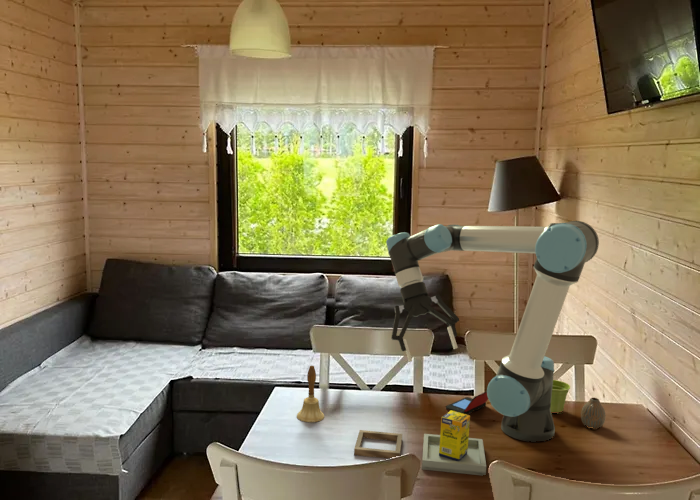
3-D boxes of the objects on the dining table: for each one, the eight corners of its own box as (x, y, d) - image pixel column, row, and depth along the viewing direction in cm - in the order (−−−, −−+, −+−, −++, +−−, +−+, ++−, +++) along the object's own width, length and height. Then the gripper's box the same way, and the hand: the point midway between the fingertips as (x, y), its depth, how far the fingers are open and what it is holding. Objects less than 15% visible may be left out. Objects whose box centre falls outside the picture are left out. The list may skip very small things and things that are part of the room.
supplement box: (459, 462, 173) (462, 422, 171) (438, 456, 176) (440, 416, 174) (468, 454, 178) (470, 415, 176) (447, 447, 181) (449, 409, 179)
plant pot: (535, 413, 209) (537, 386, 208) (539, 402, 218) (541, 377, 217) (566, 418, 206) (569, 392, 204) (569, 408, 214) (571, 382, 213)
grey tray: (481, 447, 184) (482, 439, 183) (485, 475, 168) (486, 466, 167) (423, 442, 186) (424, 433, 185) (421, 469, 170) (422, 460, 170)
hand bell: (325, 422, 196) (327, 370, 194) (297, 422, 195) (299, 370, 193) (322, 411, 204) (324, 361, 202) (295, 411, 203) (297, 361, 201)
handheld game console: (466, 399, 219) (468, 378, 218) (495, 409, 211) (496, 387, 210) (443, 409, 210) (445, 387, 209) (472, 420, 202) (474, 397, 201)
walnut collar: (402, 440, 186) (402, 433, 186) (399, 459, 175) (399, 453, 174) (359, 435, 188) (359, 429, 188) (354, 455, 176) (354, 448, 176)
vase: (606, 432, 197) (609, 404, 195) (581, 429, 198) (584, 401, 197) (602, 423, 203) (605, 396, 202) (578, 420, 205) (581, 393, 203)
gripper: (450, 276, 200) (472, 344, 196) (370, 298, 199) (390, 367, 194) (454, 271, 193) (477, 342, 188) (371, 294, 191) (392, 366, 187)
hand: (433, 355), depth 191 cm, fingers open, 13 cm apart
